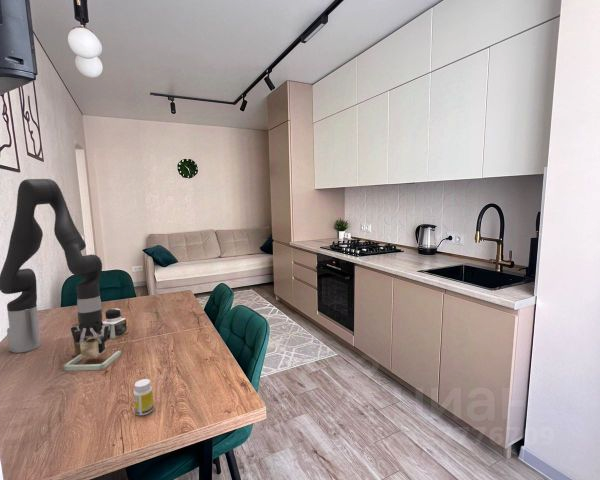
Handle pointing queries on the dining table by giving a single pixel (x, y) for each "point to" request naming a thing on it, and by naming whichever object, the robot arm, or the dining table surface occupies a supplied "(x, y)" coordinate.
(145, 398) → the supplement bottle
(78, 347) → the screen
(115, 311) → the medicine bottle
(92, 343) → the letter cube
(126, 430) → the dining table surface
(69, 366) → the bay
